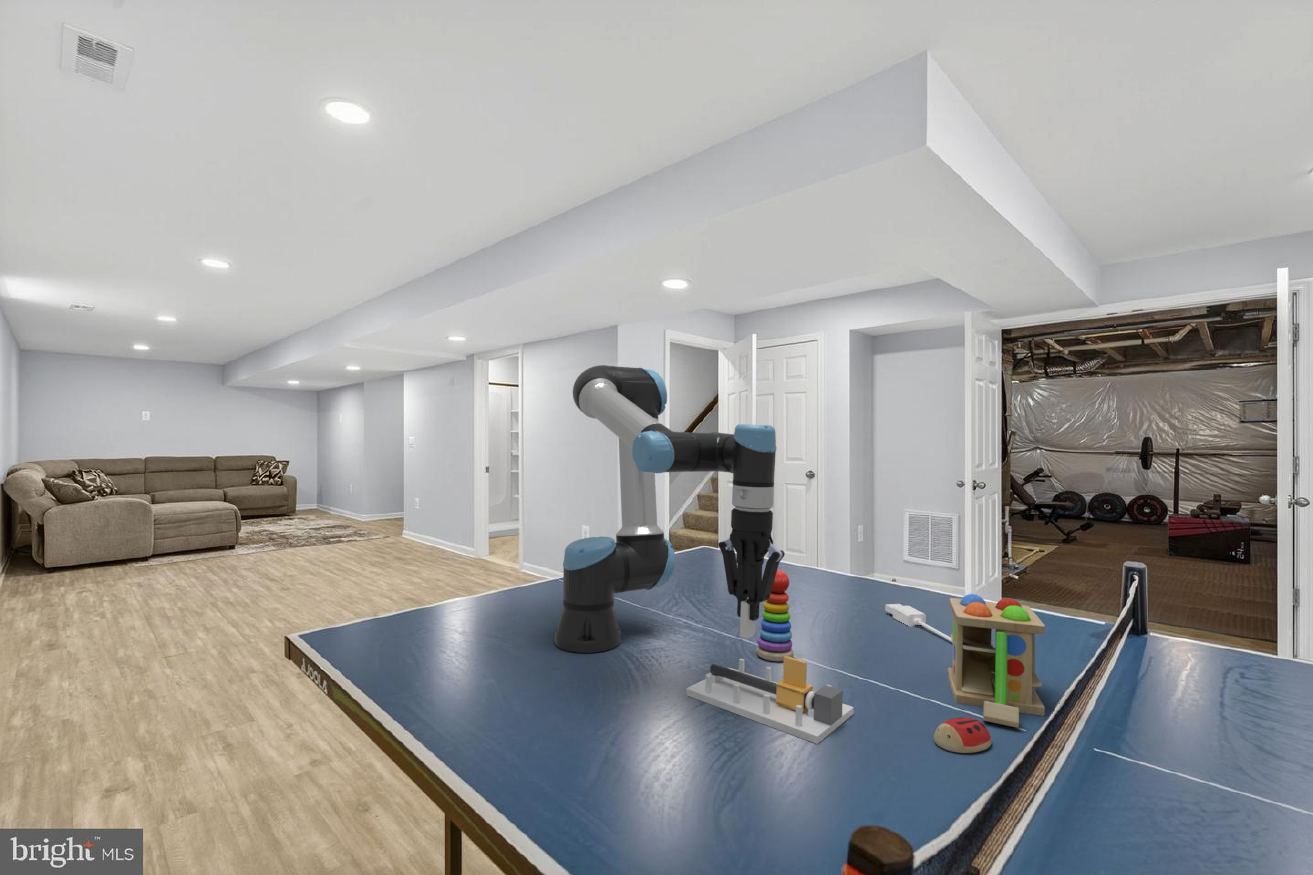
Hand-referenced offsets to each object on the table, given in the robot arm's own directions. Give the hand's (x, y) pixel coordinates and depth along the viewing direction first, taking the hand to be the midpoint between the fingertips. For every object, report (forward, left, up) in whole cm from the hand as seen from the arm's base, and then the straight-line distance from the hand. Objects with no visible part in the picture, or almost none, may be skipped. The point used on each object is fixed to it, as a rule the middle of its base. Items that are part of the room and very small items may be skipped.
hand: (747, 635), depth 111 cm
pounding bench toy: (+35, +29, -12) cm, 47 cm away
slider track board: (+5, 0, -11) cm, 12 cm away
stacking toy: (-6, +22, -11) cm, 25 cm away
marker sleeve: (+10, 0, -10) cm, 14 cm away
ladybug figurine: (+34, +9, -12) cm, 38 cm away
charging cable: (+13, +64, -12) cm, 66 cm away
